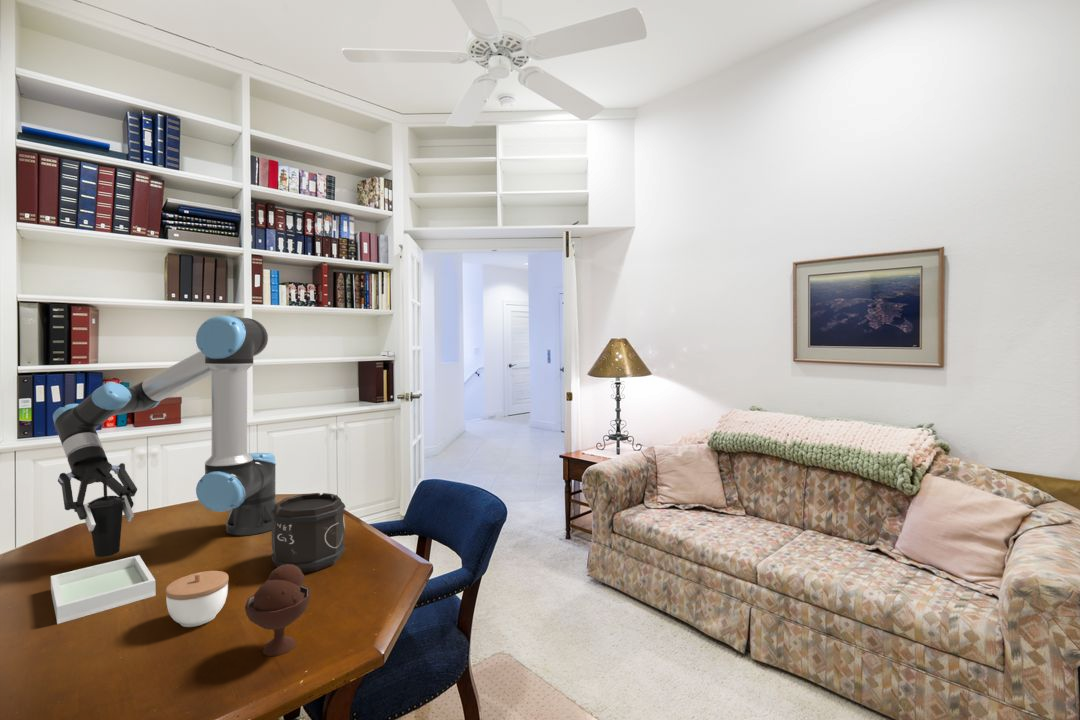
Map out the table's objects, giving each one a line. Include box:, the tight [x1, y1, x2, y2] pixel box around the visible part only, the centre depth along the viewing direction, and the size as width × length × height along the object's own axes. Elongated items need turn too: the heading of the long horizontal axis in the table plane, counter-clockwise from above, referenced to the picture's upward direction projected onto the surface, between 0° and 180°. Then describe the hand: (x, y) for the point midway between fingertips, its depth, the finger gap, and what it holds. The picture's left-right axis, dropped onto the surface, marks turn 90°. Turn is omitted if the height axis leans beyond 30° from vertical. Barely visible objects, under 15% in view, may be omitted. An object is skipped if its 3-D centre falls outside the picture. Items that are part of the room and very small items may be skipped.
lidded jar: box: [165, 570, 229, 628], centre depth 103 cm, size 11×11×9 cm
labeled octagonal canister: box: [270, 492, 347, 574], centre depth 132 cm, size 18×18×16 cm
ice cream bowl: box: [244, 564, 311, 657], centre depth 93 cm, size 11×11×15 cm
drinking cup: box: [87, 477, 125, 558], centre depth 130 cm, size 8×8×20 cm
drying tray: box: [50, 554, 157, 625], centre depth 114 cm, size 20×16×4 cm
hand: (112, 523), depth 128 cm, fingers closed on drinking cup, 7 cm apart
